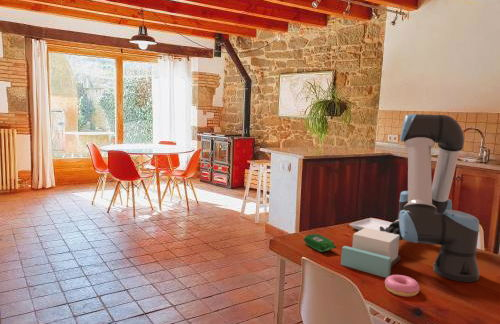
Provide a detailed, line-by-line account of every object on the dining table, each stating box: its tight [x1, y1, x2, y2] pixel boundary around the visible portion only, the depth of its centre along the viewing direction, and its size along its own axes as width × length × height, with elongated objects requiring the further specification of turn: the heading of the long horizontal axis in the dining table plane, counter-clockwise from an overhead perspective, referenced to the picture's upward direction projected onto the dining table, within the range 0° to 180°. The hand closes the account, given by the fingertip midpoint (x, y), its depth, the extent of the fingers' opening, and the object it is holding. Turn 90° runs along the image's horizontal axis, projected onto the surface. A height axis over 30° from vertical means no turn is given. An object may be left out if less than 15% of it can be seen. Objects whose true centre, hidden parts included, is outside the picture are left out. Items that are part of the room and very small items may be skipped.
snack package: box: [303, 233, 337, 253], centre depth 168 cm, size 7×16×5 cm, turn 27°
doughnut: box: [384, 274, 421, 298], centre depth 130 cm, size 11×11×4 cm
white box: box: [351, 228, 400, 262], centre depth 153 cm, size 14×12×9 cm
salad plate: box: [349, 217, 393, 232], centre depth 197 cm, size 21×21×3 cm
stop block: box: [340, 245, 392, 279], centre depth 145 cm, size 18×2×7 cm, turn 52°
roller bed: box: [390, 254, 401, 269], centre depth 154 cm, size 14×17×2 cm
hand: (380, 241), depth 158 cm, fingers closed
